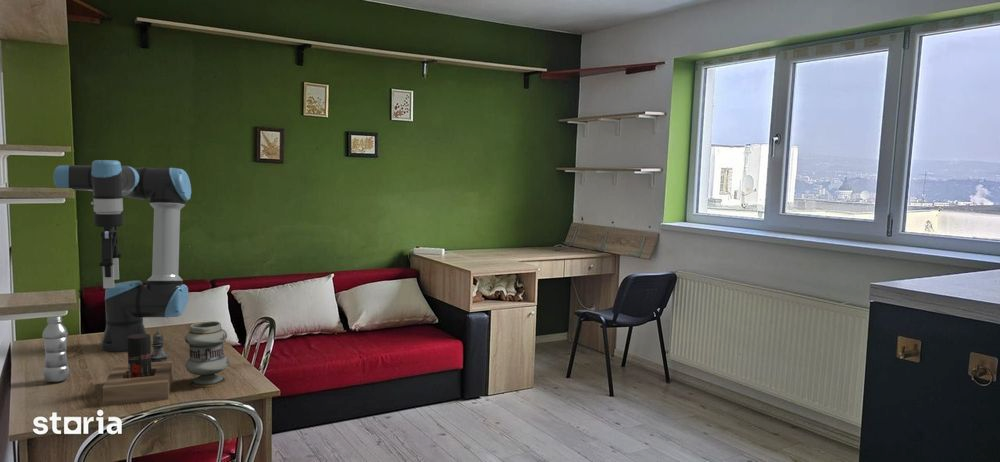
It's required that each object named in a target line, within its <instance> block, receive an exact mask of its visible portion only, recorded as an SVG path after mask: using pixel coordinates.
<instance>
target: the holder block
mask: <svg viewBox="0 0 1000 462" xmlns="http://www.w3.org/2000/svg"><path fill="white" fill-rule="evenodd" d="M151 374H152V376H148V377H137V378H129V372H128V363H127V364H116V365H113V367H112V369H111V370H110V373H109V375H108V376H107V379H106V380H105V383H104V384H103V386H102V405H103V406H113V405H121V404H124V405H125V404H132V403H142V402H152V401H162V400H163V401H164V400H169V397H170V392H171V389H172V384H173V379H174V362H173V360H166V361H164V362H152V363H151Z"/></svg>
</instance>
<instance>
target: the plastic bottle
mask: <svg viewBox="0 0 1000 462" xmlns="http://www.w3.org/2000/svg"><path fill="white" fill-rule="evenodd" d="M46 324H47V325H46V326H45V328H44V329H43V331H42V335H41V337H42V339H43V345H44V353H45V354H44V355H45V359H44V368H43V372H42V373H43V374H42V375H43V378H44V381H46V382H48V383H59V382H63V381H66V380H67V379H68V378H69V377H70V372H71V371H70V366H69V364H68V363H69V362H68V357H67V356H68V355H67V348H68V345H67V344H68V336H69V331H68V329H67V327H66V326H65V325H64V324H63V316H57V317H47V316H46Z"/></svg>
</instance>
